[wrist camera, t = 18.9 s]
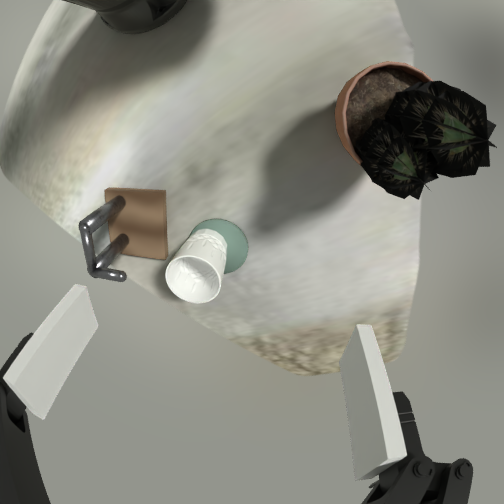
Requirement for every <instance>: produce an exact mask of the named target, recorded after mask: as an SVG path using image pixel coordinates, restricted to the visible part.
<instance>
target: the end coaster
mask: <svg viewBox="0 0 504 504" xmlns="http://www.w3.org/2000/svg"><path fill="white" fill-rule="evenodd" d="M200 229H211V230H214V231H217V232H218V233H219V234H220V235H222V236H223V237H224V239H225V241H226V243H227V256H226V264H225V269H224V274H226V273H230V272H233V271H235V270H237V269H238V268H239V267H241V265H242V264H243V263H244V262H245V260H246V257H247V253H248V242H247V239H246V237H245V235H244V233H243V232H242V231H241V229H240V228H239V227H237V226H236V225H235V224H233V223H231V222H229V221H226V220H223V219H210V220H206V221H203V222H202V223H200V224H199V225H197V226H196V227H195V229H194V230H193V231H192V233H191V235H192V234H193V233H194V232H196V231H197V230H200ZM191 235H190V236H191Z"/></svg>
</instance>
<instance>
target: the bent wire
mask: <svg viewBox="0 0 504 504" xmlns="http://www.w3.org/2000/svg"><path fill="white" fill-rule="evenodd" d="M125 205H126V201H125V199H124V197H122V196H120V195H118V196H116V197H114V198H113V199H111V200H110V201H108V202H107V203H105V204H104V205H103V206H101V207H100V208H98V209H97V210H95V211H94V212H93V213H91V214H90V215H88V216H87V217H86V218H84V219H83V220H81V221H80V223H79V230H80V233H81V238H82V244H83V248H84V253H85V258H86V262H87V270H88V273H89V274H90V275H91V276H92V277H94V278H102V279H108V280H113V281H118V282H123V281H125V280H126V278H127V275H126V273H125V272H124V271H120V270H114V269H109V268H107V267H108V266H109V265H110V264H111V263H112V262H113V261H114V259H115V258H116V257H117V256H118V255H119V254H120V253H121V252H122V251H123V249H124V248H125V247H126V246H127V245H128V244H129V238H128V236H127V235H126V234H123V233H121V234H119V235H118V236H117V237H116V238H115V239H114V240H113V241H112V242H111V243H110V244H109V245H108V246H107V247H106V248H105V249H104V250H103V251H102V252H101V253H100V254H99V255H98V256H97V257H96V256H95V251H94V245H93V240H92V233H93V232H94V231H95V230H97V229H98V228H99V227H100V226H102V225H103V224H104V223H105V222H106V221H108V220H109V219H110V218H111V217H113V216H114V215H115V214H116V213H118V212H119V211H120V210H122V209H123V208H124V207H125Z"/></svg>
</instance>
